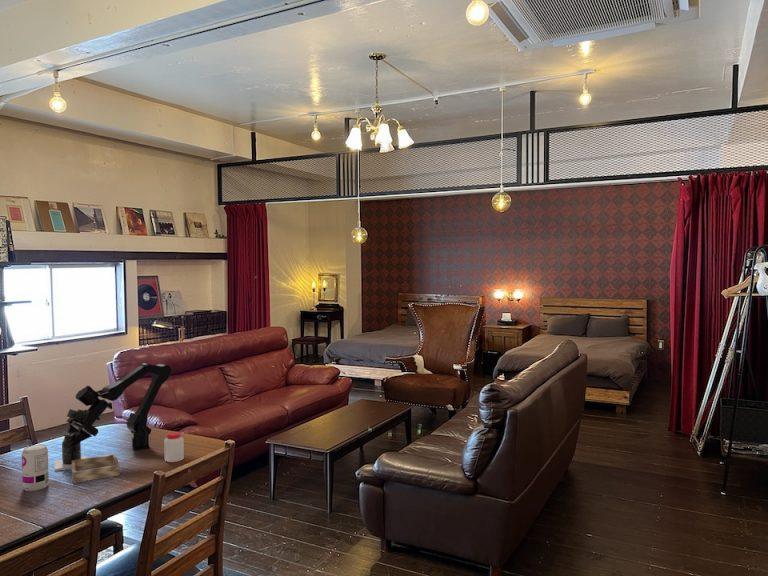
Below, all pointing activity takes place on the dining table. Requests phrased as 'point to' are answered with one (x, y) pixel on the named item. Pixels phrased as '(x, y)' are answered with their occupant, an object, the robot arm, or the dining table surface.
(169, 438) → the pill bottle
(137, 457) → the dining table surface
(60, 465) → the mat
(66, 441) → the supplement bottle
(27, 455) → the supplement can
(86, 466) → the crate
